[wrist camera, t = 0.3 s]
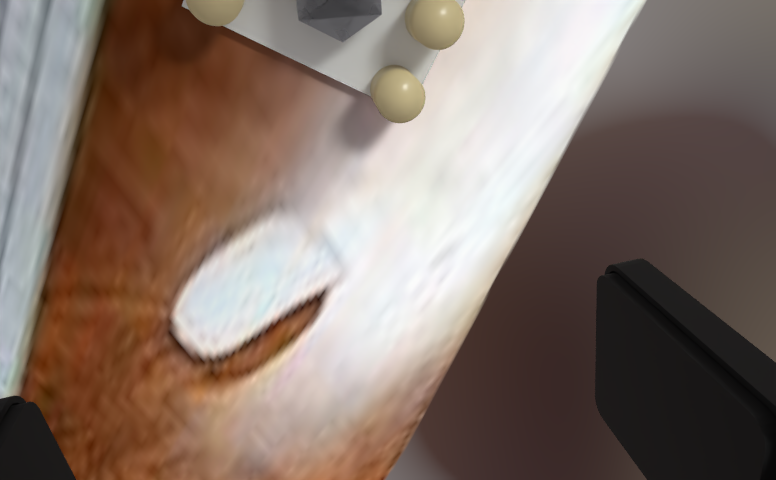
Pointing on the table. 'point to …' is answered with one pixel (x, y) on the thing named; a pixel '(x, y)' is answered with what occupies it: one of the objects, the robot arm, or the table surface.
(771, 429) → the robot arm
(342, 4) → the grey faceted block
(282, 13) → the spacer board
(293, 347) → the table surface
